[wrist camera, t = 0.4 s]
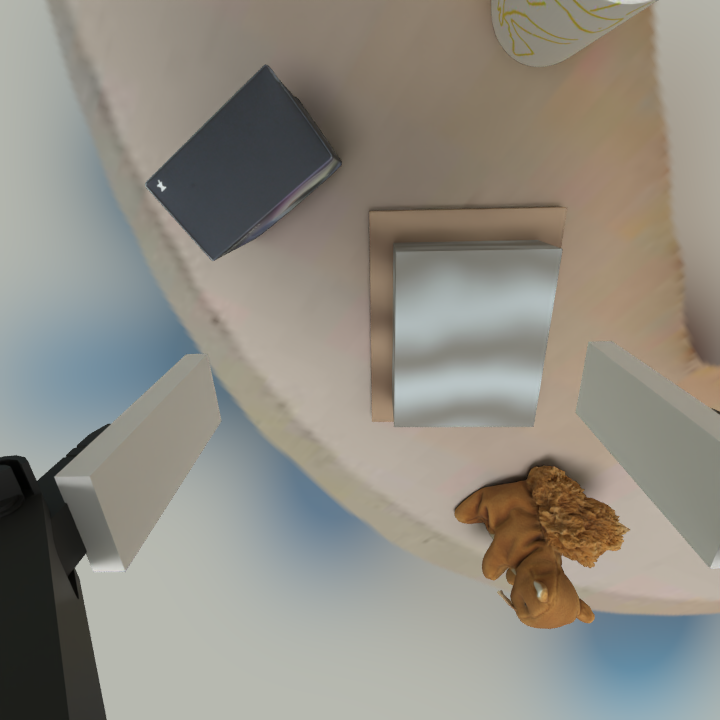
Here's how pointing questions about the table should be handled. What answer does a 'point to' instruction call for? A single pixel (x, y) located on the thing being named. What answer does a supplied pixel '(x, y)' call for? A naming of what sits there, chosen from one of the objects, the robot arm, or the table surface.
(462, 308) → the building base
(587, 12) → the cup
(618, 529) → the stuffed squirrel
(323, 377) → the table surface
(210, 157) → the small box
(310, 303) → the table surface
